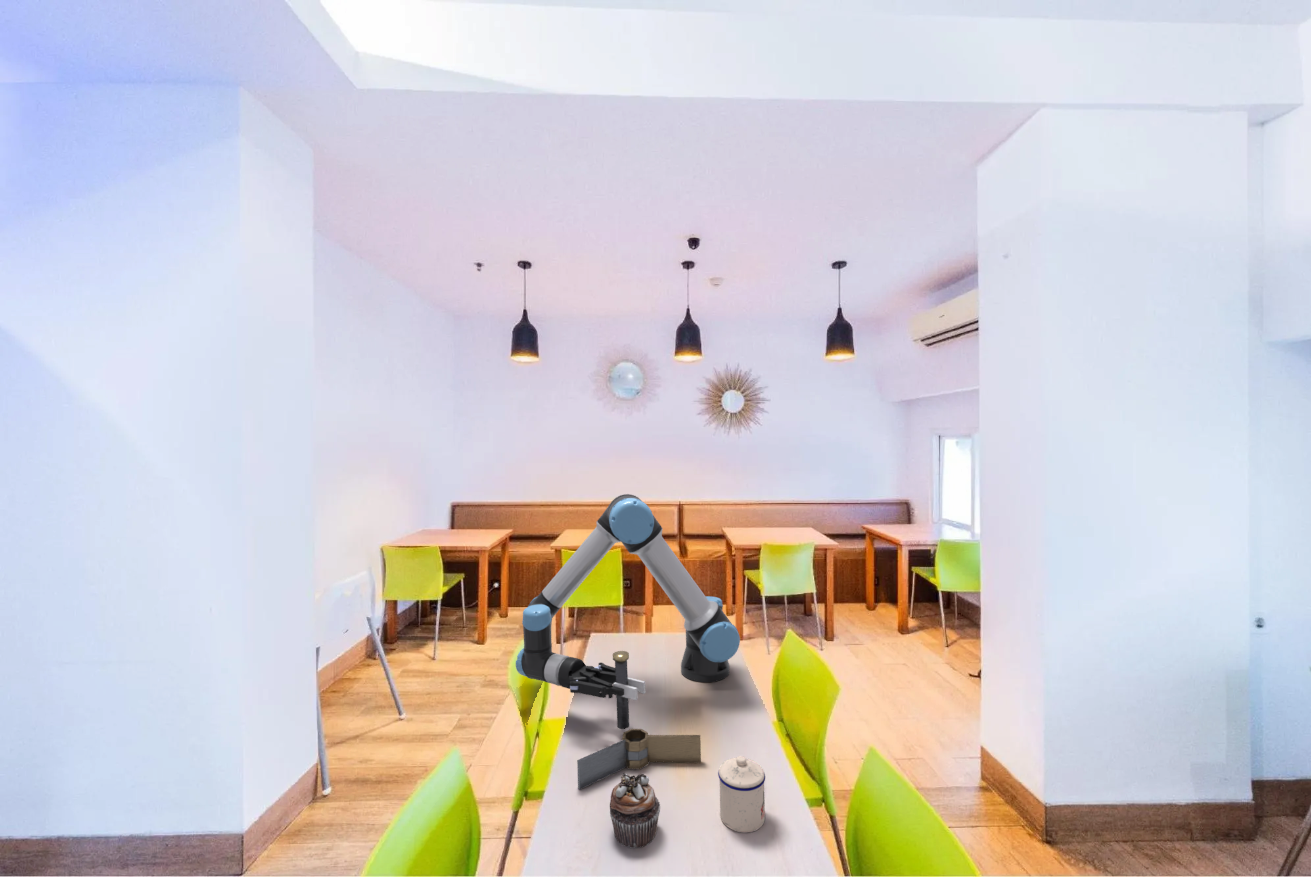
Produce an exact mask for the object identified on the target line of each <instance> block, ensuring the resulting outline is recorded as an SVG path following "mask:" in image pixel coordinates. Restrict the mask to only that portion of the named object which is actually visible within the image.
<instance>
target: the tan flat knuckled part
mask: <svg viewBox="0 0 1311 877" xmlns="http://www.w3.org/2000/svg"><path fill="white" fill-rule="evenodd" d="M632 738H641V739H643V740H641V741H639V742H630V741H629V740H630V739H632ZM624 739H625V741H626V750H628V751H635V752H640V751H642V750H643V749H645V748H647V747H648V756H647V757H645V758H643V759H641V760H639V761H637V760H628V759H626V762H627V767H626V769H630V770H641V769H643V768H645V767H646V766H648V765H649V763H678V764H679V763H681V764H682V763H687V764H688V763H690V764H691V763H696V764H697V763H699V764H700V763H702V751H701V748H702V747H701V734H649V732H648V731H646V730H644V729H642V728H630V729H628V730H626V731H624V732H623V733H622V739H621V741H622V740H624Z"/></svg>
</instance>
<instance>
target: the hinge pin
mask: <svg viewBox="0 0 1311 877" xmlns="http://www.w3.org/2000/svg"><path fill="white" fill-rule="evenodd" d="M629 659H630V654H629V652H628V651H626V650H618V651H614V652H612V660H613V661H614V668H615V676H616V683H620V684H624V685H628V677H629V676H628V660H629ZM615 696H616V698H615V699H616V700H615V701H616V725H617V729H619V730H627V729H628V728H630V708H629V705H630V704H629V701H630V700H629V698H625V697H622V696H617V695H615Z"/></svg>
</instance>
